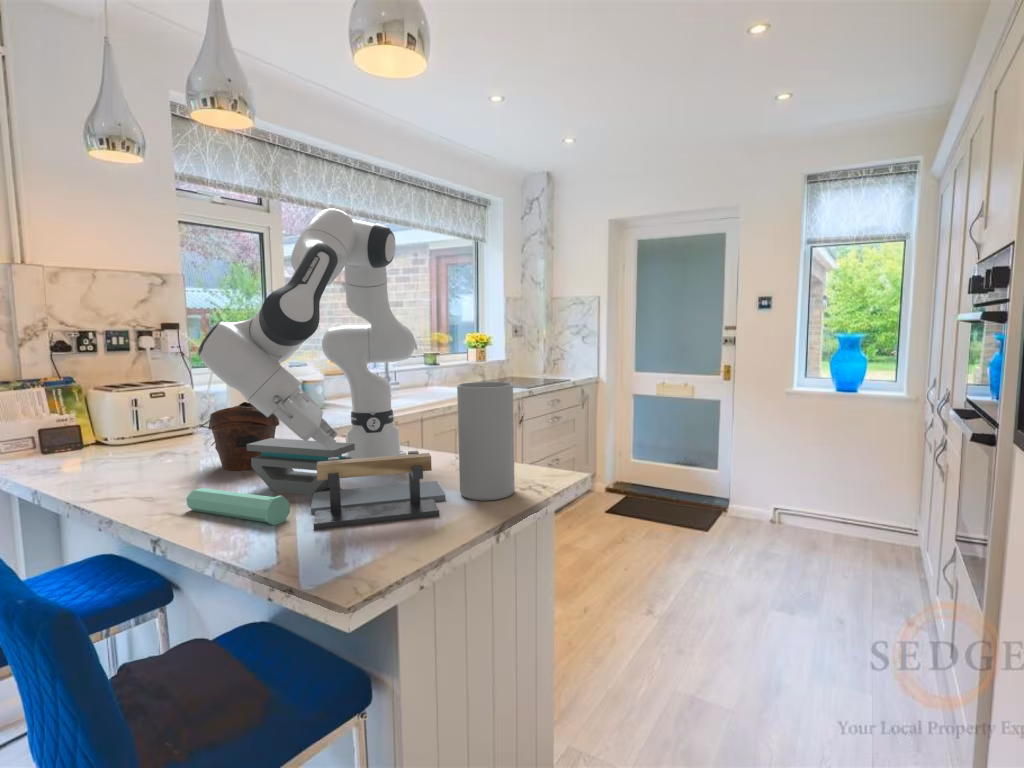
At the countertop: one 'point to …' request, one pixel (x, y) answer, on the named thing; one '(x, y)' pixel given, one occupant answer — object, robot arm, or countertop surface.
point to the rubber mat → (377, 495)
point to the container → (240, 505)
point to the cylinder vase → (486, 440)
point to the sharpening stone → (293, 463)
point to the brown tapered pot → (240, 434)
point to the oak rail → (373, 466)
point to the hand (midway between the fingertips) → (334, 441)
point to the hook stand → (375, 512)
